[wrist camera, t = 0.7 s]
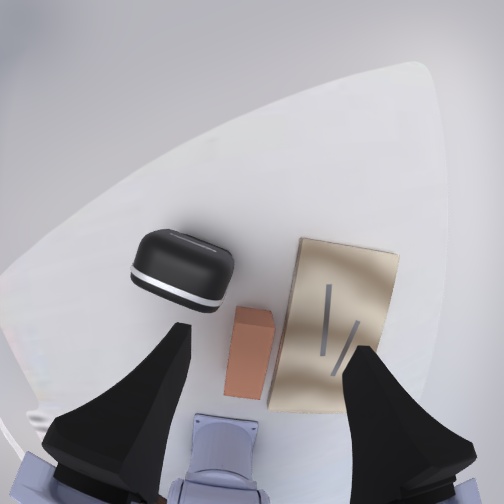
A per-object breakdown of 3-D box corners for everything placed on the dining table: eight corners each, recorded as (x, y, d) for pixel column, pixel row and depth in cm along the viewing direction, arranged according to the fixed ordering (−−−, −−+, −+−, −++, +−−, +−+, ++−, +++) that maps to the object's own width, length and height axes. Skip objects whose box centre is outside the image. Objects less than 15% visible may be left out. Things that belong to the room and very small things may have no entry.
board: (350, 406, 31) (353, 412, 30) (266, 403, 31) (267, 411, 29) (393, 253, 29) (400, 255, 28) (300, 237, 29) (303, 238, 27)
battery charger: (241, 247, 29) (238, 266, 17) (227, 282, 29) (216, 321, 18) (177, 222, 28) (135, 225, 17) (165, 257, 29) (118, 280, 17)
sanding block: (258, 375, 30) (259, 399, 25) (226, 370, 30) (223, 395, 25) (270, 310, 30) (275, 328, 25) (236, 305, 29) (235, 322, 24)
